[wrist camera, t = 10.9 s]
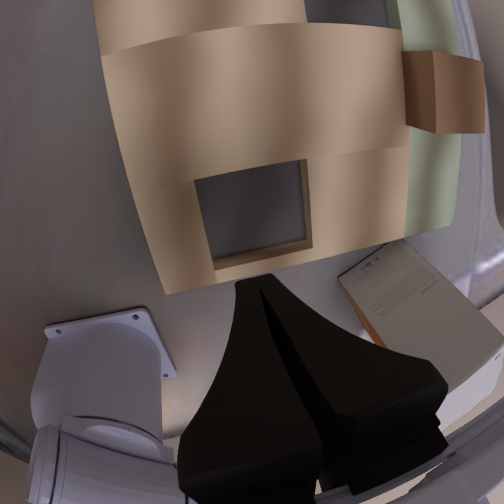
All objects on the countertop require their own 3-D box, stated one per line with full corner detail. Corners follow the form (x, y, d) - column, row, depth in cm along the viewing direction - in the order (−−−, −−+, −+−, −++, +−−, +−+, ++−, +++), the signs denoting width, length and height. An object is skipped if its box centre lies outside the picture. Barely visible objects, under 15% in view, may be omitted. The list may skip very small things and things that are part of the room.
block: (405, 125, 17) (435, 134, 15) (400, 51, 15) (432, 50, 12) (455, 124, 18) (484, 133, 15) (452, 59, 15) (483, 61, 13)
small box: (334, 277, 24) (425, 410, 13) (398, 233, 23) (511, 338, 12) (364, 330, 28) (432, 438, 17) (416, 293, 27) (497, 388, 16)
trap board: (166, 282, 21) (165, 295, 20) (95, -37, 10) (89, -45, 9) (441, 217, 24) (452, 224, 22) (429, -36, 12) (441, -39, 11)
